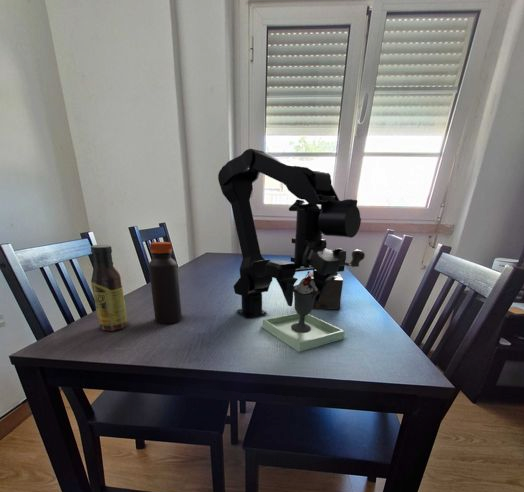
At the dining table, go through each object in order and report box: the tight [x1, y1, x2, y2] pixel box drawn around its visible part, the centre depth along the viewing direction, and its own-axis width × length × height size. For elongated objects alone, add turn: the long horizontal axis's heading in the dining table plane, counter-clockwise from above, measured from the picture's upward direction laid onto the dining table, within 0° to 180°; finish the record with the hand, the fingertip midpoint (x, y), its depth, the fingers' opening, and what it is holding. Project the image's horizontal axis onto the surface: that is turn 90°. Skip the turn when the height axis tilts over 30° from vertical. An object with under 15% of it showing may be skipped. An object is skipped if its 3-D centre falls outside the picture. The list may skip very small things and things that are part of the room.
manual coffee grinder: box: [307, 249, 366, 310], centre depth 87 cm, size 16×11×18 cm
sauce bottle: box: [90, 244, 128, 332], centre depth 66 cm, size 6×6×20 cm
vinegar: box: [148, 241, 183, 325], centre depth 72 cm, size 7×7×20 cm
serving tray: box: [262, 312, 346, 353], centre depth 69 cm, size 15×13×2 cm
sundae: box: [291, 270, 320, 333], centre depth 67 cm, size 7×7×15 cm
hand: (303, 303), depth 66 cm, fingers open, 8 cm apart
